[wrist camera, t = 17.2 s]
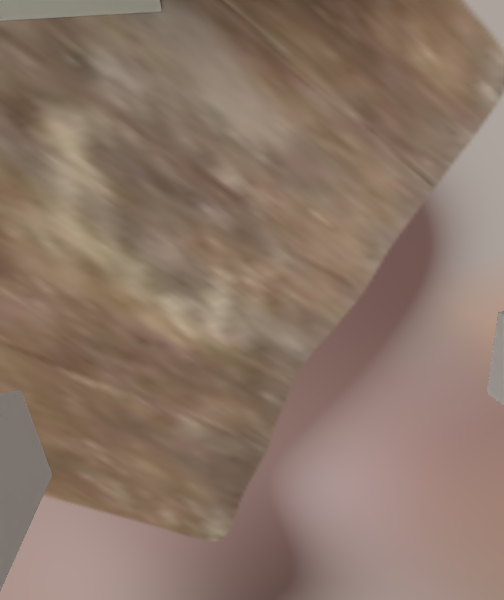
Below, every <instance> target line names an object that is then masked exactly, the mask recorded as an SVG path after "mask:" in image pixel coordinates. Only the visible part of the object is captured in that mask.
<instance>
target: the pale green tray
mask: <svg viewBox="0 0 504 600" xmlns="http://www.w3.org/2000/svg"><path fill="white" fill-rule="evenodd" d="M148 12H162V10H161V3H160V0H0V21H4V20H22V19H40V18H58V17H76V16H94V15H112V14H130V13H148Z"/></svg>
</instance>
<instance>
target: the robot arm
mask: <svg viewBox="0 0 504 600" xmlns="http://www.w3.org/2000/svg"><path fill="white" fill-rule="evenodd" d="M487 393H488V394H489V395H490V396H492V397H493V398H494V399H495V400H497V401H498V402H500V403H501V404H502V405H503V406H504V311H503V312H498V317H497V324H496V332H495V339H494V346H493V353H492V360H491V367H490V374H489V382H488V389H487ZM51 477H52V474H51V471H50V468H49V465H48V463H47V460H46V457H45V454H44V452H43V449H42V446H41V443H40V441H39V438H38V435H37V432H36V430H35V427H34V424H33V421H32V419H31V416H30V413H29V410H28V407H27V405H26V402H25V399H24V396H23V394H22V391H21V390H18V391H12V392H6V393H0V591H1V588H2V586H3V584H4V582H5V579H6V577H7V575H8V573H9V570H10V568H11V566H12V564H13V562H14V559H15V557H16V555H17V552H18V550H19V548H20V546H21V544H22V541H23V539H24V537H25V535H26V533H27V530H28V528H29V526H30V524H31V521H32V519H33V517H34V515H35V512H36V510H37V508H38V506H39V504H40V501H41V499H42V497H43V495H44V492H45V490H46V488H47V486H48V483H49V481H50V479H51Z"/></svg>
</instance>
